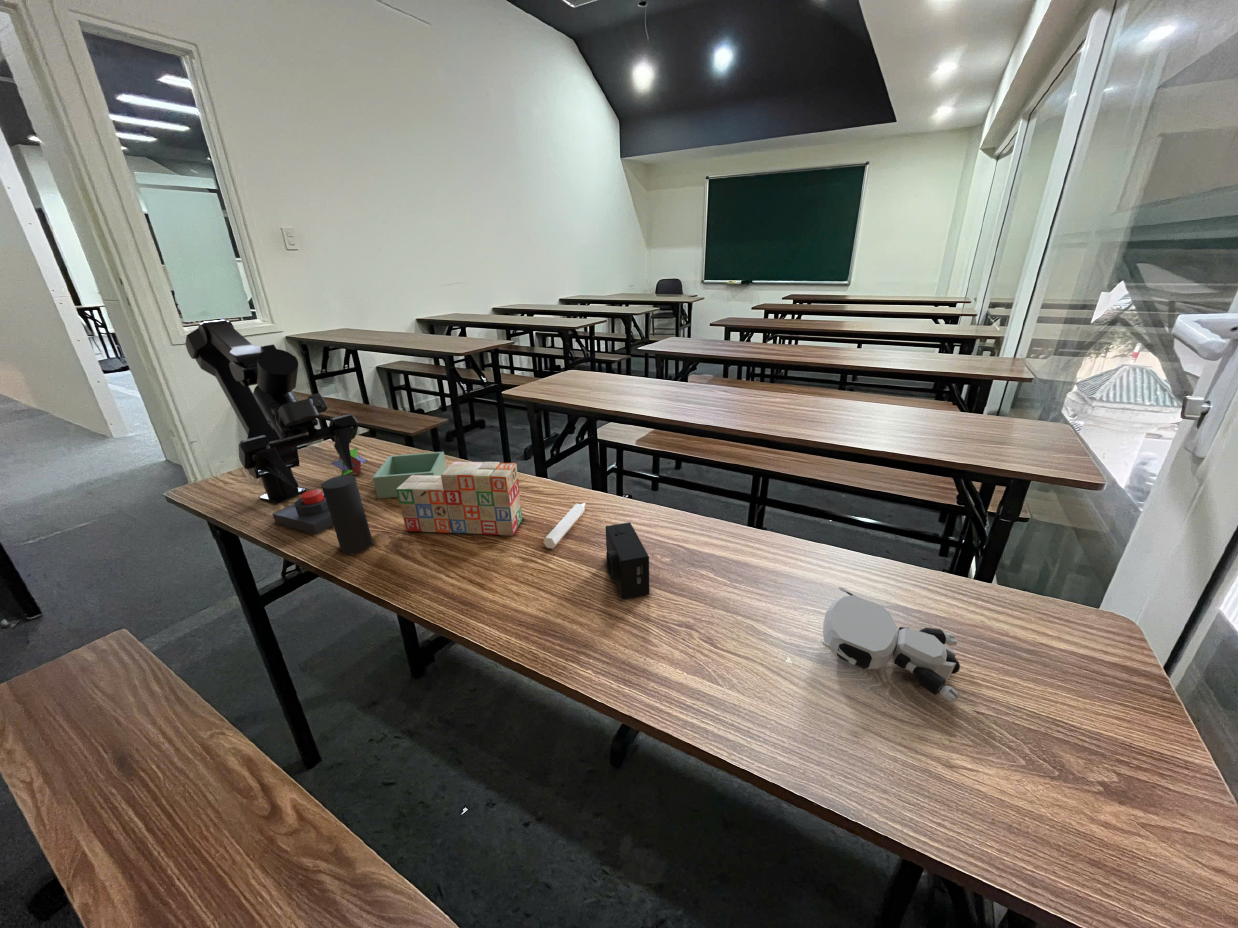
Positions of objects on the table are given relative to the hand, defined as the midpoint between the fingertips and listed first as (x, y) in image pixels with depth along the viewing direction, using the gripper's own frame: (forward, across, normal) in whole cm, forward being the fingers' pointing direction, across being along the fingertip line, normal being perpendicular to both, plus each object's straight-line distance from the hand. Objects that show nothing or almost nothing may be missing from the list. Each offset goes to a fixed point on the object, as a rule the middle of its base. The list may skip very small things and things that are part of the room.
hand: (325, 477), depth 86 cm
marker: (+32, +28, -14) cm, 45 cm away
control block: (0, 0, +17) cm, 17 cm away
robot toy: (+71, +28, -53) cm, 93 cm away
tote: (+2, +21, +16) cm, 26 cm away
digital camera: (+45, +21, -27) cm, 57 cm away
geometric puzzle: (-11, +15, +28) cm, 34 cm away
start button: (-2, 0, +14) cm, 15 cm away
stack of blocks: (+20, +16, -2) cm, 26 cm away
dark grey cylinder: (+13, 0, +4) cm, 14 cm away
